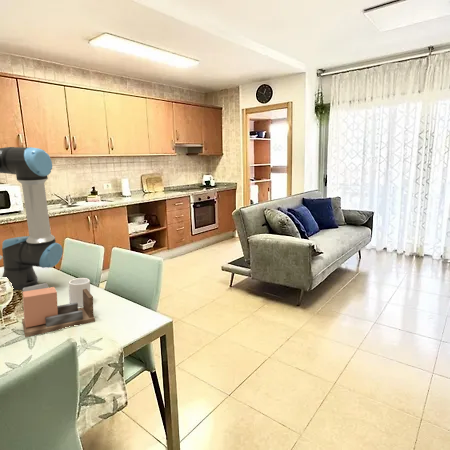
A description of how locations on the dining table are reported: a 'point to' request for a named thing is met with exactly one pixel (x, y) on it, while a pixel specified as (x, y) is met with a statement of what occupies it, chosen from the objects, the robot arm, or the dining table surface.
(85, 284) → the mug
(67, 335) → the dining table surface
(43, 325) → the wooden block holder
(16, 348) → the dining table surface
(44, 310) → the pink block
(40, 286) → the electrical switch
